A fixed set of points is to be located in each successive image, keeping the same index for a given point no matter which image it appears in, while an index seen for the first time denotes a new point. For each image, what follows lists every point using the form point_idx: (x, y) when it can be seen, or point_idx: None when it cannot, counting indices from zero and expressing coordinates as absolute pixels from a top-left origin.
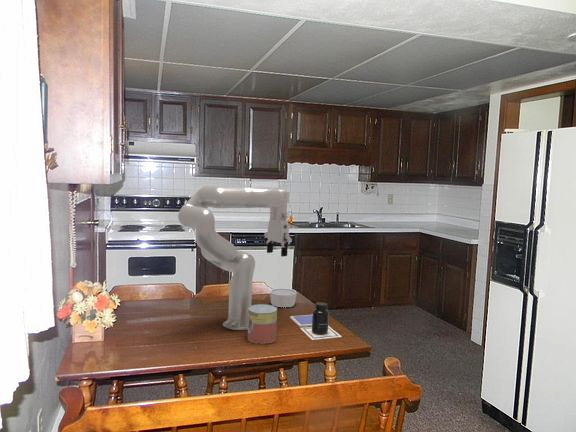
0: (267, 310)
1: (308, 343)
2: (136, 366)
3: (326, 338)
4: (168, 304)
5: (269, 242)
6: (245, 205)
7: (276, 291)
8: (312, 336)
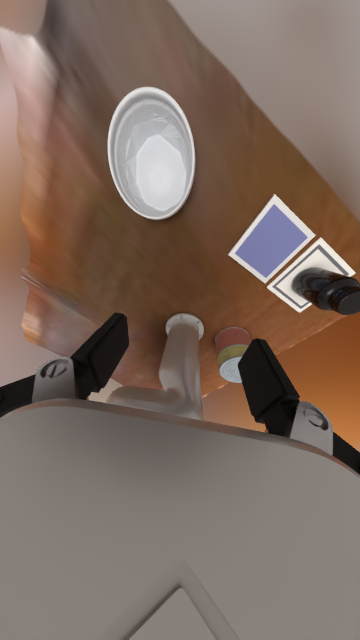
0: None
1: (295, 322)
2: None
3: None
4: (68, 328)
5: (80, 396)
6: None
7: (117, 155)
8: (297, 304)
